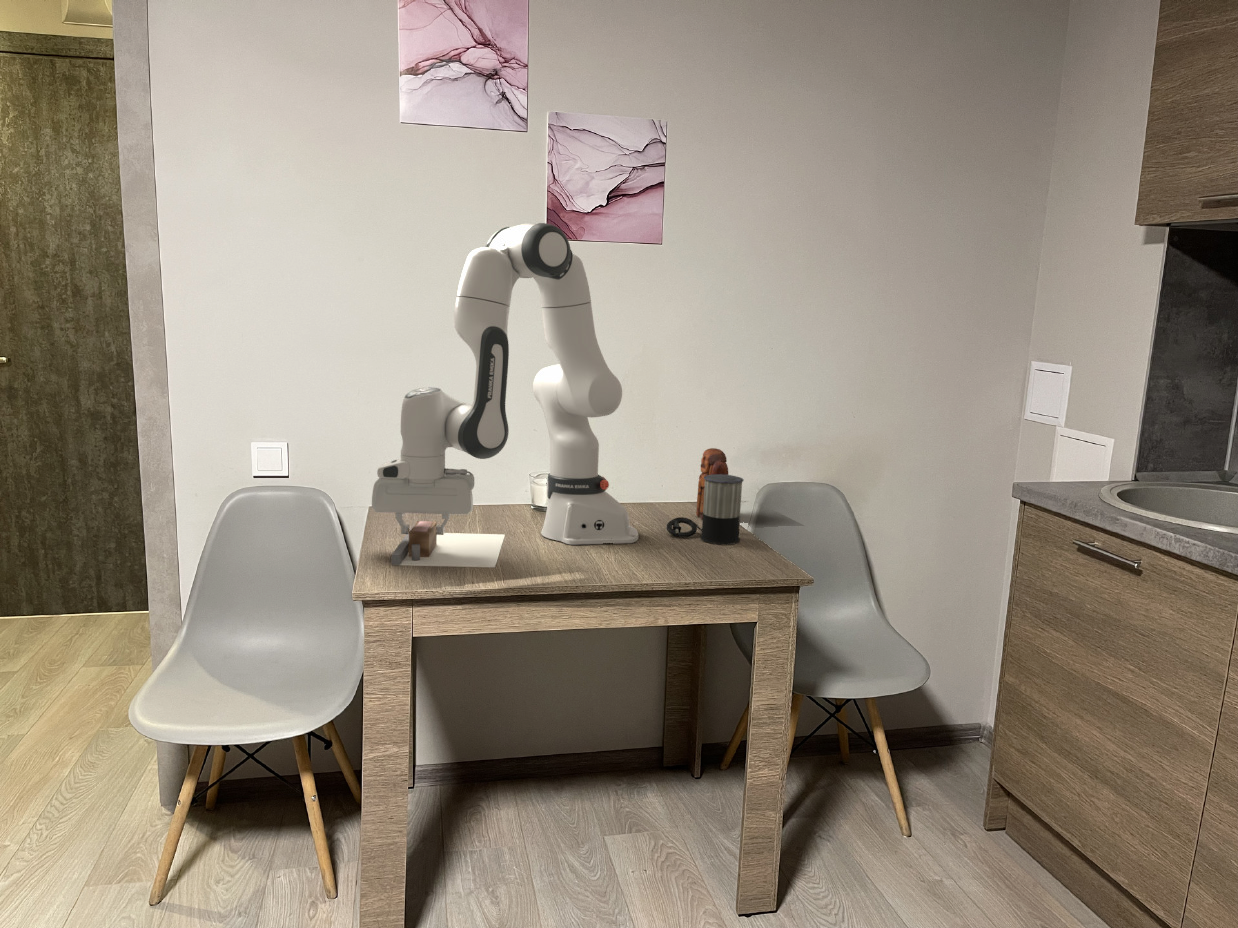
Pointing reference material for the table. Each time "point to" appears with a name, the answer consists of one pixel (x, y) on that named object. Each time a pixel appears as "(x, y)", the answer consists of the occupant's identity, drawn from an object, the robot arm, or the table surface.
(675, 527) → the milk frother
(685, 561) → the table surface
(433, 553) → the board
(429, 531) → the wooden block
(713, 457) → the wooden figurine
